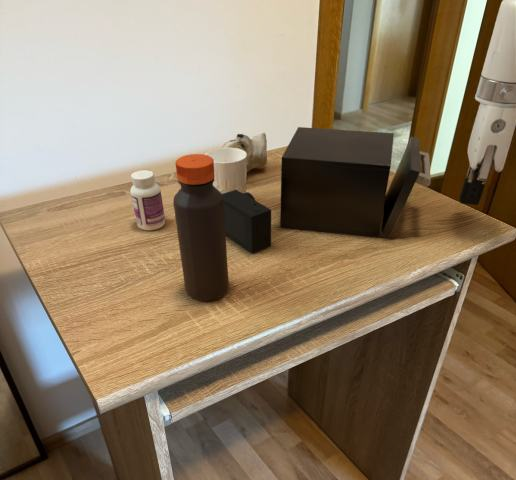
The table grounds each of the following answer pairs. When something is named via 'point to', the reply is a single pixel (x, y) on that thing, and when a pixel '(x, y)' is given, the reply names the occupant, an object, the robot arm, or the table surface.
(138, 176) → the pill bottle
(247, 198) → the digital camera
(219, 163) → the white cup
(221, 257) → the vinegar
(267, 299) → the table surface
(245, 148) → the ceramic sculpture
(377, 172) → the oven
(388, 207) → the oven door
